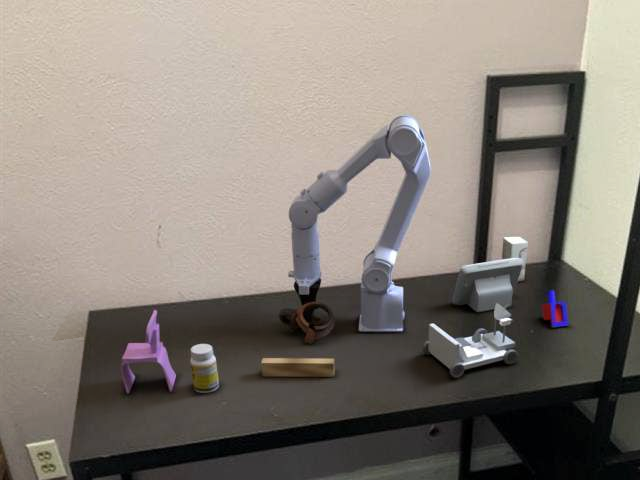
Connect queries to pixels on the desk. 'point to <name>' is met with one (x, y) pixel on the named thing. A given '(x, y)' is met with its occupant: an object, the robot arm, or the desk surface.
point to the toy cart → (472, 346)
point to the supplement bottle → (204, 368)
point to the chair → (147, 355)
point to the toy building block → (555, 311)
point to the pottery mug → (307, 320)
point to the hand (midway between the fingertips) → (309, 312)
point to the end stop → (298, 367)
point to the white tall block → (515, 251)
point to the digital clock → (487, 284)
